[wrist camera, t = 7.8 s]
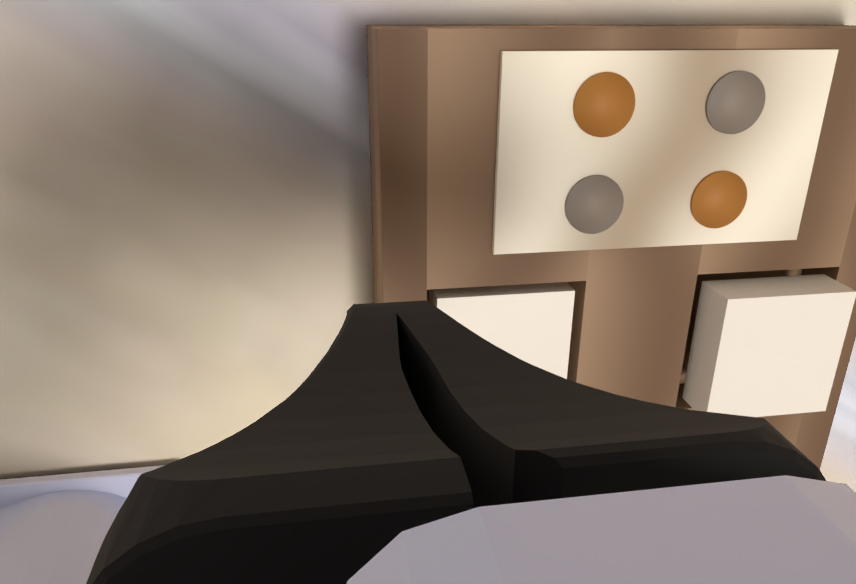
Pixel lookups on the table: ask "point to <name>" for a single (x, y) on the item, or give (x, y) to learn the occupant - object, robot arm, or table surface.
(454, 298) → the button
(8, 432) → the table surface
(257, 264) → the table surface
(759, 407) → the button
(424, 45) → the button board
